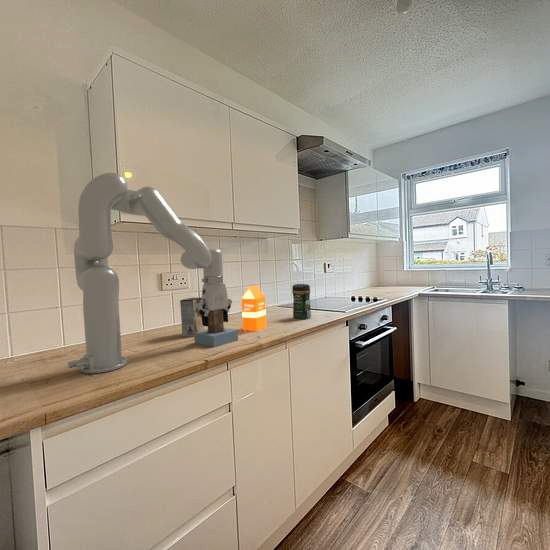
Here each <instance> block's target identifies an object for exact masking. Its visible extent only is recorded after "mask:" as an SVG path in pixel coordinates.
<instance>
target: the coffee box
mask: <svg viewBox="0 0 550 550" xmlns="http://www.w3.org/2000/svg"><path fill="white" fill-rule="evenodd" d="M201 301H202V296H201V297H188V298H185V299H181V300H179V302H180V304H179V305H180V319H181V321H180V322H181V334H182V337H195V333H196V332H200V331H204V330H205V326H203V325H202V316H201V315H200V314H199V313H198V311H197V309H196V307H195V306H196V305H197V304H198V303H199V302H201ZM201 309H202V306H201ZM202 310H203V309H202Z"/></svg>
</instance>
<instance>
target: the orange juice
mask: <svg viewBox="0 0 550 550" xmlns="http://www.w3.org/2000/svg"><path fill="white" fill-rule="evenodd" d="M266 308H267V307H266V297H265V295H264V294H263V292H262V290H261V289H260V287H259V285H251V286H247V288H246V290H245V292H244V294H243V295H242V298H241V315H242V317H241V318H242V330H243V331H246V330H249V331H248V332H259V331H261V330H263V328H264V329H266V328H267V310H266ZM258 330H259V331H258Z"/></svg>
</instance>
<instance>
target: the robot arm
mask: <svg viewBox="0 0 550 550" xmlns="http://www.w3.org/2000/svg"><path fill="white" fill-rule="evenodd" d="M78 200H79V201H78V207H77V211H78V212H77V213H78V214H77V215H78V237H77V238H76V240H75V242H74V245H73V257H74V268H75V278H76V284H77V286H78V288H79V289H80V290H81V291H82V313H83V322H84V323H83V324H84V338H85V339H84V340H85V354H82V357H81V358H79V359H75V360H71V361H68V362H67V368H68V369H73V368H76V369H79V368H80V371H81V373H84V374H101V373H106V372H111V371H114V370H119V369H120V368H123V367H124V366H127V364H128V361H129V360H128V358H127V357H124V356H123V355H122V353H123V352H122V340H121V339H122V337H121V336H122V335H121V323H120V322H121V320H120V319H121V318H120V307H119V305H120V304H119V302H120V301H119V300H120V299H119V297H120V296H119V295H120V279H119V276H118V274H117V272H116V271H115V270H114V269H113V268H111V267H110V266H109V260H108V259H109V257H110V256H111V255H112V253H113V250H114V242H113V234H112V223H111V221H112V220H111V218H112V217H111V215H112V211H117V212H121V213H125V214H129V215H130V214H131V215H136V216H144V217H146V218H147V220H148V221H149V223H151V224H152V226H153V228H155V230H156V231H157V232H158V233H159V235H160V236H161V237H163V238H165V239H167V240H170V241H173V242H174V243H176V244H177V245H179V246H180V247H181V248H182V249H183V250H184V251H183V253H182V254H181V255H180V263H181V265H182V266H183V267H184V268H186V269H189V270H196V269H202V271H203V278H202V279H201V282H202V283H203V284H202V288H201V297H202V301H201V302H199V303H198V304H197V305H196V306H195V307H196V309H197V311H198V313H199V314H200V315H201V316H202V325H203V326H204V327H208V326H209V318H208V316H207V314H208V313H209V311H213V310H219V309H223V323H228V322H229V312H230V309H231V307H232V303H233V300H232V299H230V298H228V291H227V286H226V283H224V270H223V254H222V253H223V252H222V251H221V250H220V249H214V248H212V249H209V247H208V246H207V245H206V242H204V241H203V239H202V238H201V237H200V236H199V234H197V233H196V231H194V230H192V229H191V228H190V227H189V226H188V225H186V224H185V223H184V222H182V221H181V219H180V218H179V216H177V214H176V213H175V212H174V211H173V209H172V208H171V206H170V204H168V202H167V201H166V199H164V197H163V196H162V195H161V194H160V192H159V191H158V189H156V188H154V187H153V186H144V187H142V188H138V189H137V190H132V189H128V184H127V182H126V180H125V178H124V177H123V176H121V175H120V174H118V173H115V172H105V173H102V174H99V175H97V176H95V177H93V178H92V179H91V180H89V182H88V183H87V184H86V185H85V187H84V188H83V189H82V192H81V193H80V196H79V199H78ZM201 306H202V309H203V310H202V309H201Z"/></svg>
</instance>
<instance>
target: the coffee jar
mask: <svg viewBox="0 0 550 550" xmlns="http://www.w3.org/2000/svg"><path fill="white" fill-rule="evenodd" d="M310 287H311V286H310V285H309V283H308V284H305V283H297V284H293V285H292V287H291V288H292V291H291V293H292V297H293V304H292V305H293V308H292V309H293V311H292V312H293V313H292V316H293V318H294V319H299V320H305V319H310V318H312V310H311V309H312V308H311V301H310V299H311V298H310V297H311V296H310V294H311V288H310Z"/></svg>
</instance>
